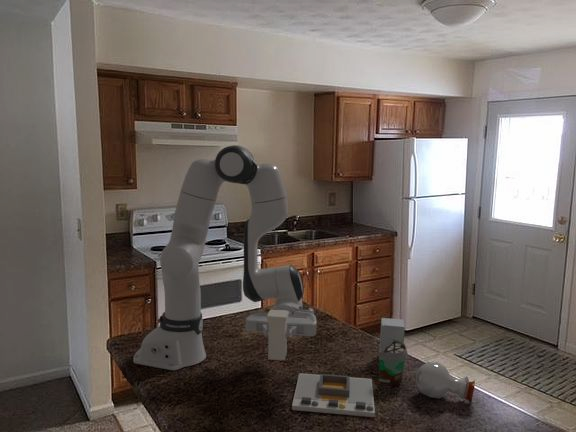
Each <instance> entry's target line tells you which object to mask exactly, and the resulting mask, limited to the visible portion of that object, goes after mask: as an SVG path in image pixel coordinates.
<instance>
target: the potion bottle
mask: <svg viewBox="0 0 576 432" xmlns="http://www.w3.org/2000/svg"><path fill="white" fill-rule="evenodd" d="M415 381H416V383H415V385H416V386H417V388H418V389H419V391H420V392H421V394H423V395H424V396H426V397H428V398H429V399H442V398H443V397H444V396H445V395H446V394H450V395H454V396H457V398H458V399H459V400H460V402H461V403H462V402H464V401H467V402H468V403H469V404H471V403H472V400H473V397H474V390H475V384H476V381H475V380H473V381H470V380H469V377H468V375H467V376H464V377H462V378H457V377H454V376H452V375H451V373H450V372H449V370H448V369H447V367H446V366H445V365H443V364H441V363H439V362H438V361H435V362H434V361H433V362H432V361H431V362H430V361H429V362H428V361H427V362H426V363H424V364H423V365H421V366H419V368H418V370H417V372H416V374H415Z"/></svg>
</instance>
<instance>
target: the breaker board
mask: <svg viewBox="0 0 576 432" xmlns="http://www.w3.org/2000/svg"><path fill="white" fill-rule="evenodd" d="M295 387H296V388H295V391H294V396H293V400H292V403H291V410H292V411H301V412H313V413H323V414H324V413H325V414H335V415H348V416H356V417H368V418H369V417H370V418H375V417H376V411H375V409H376V408H375V400H374V390H373V379H372V378H364V377H350V376H349V375H340V374H326V373H320V374H315V373H313V374H312V373H301V372H299V373H298V377H297V382H296V385H295Z"/></svg>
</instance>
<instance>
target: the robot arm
mask: <svg viewBox="0 0 576 432" xmlns="http://www.w3.org/2000/svg"><path fill="white" fill-rule="evenodd" d="M225 182H227V183H232V184H239V185H245V186H246V188H247V189H248V192H249V197H250V204H251V214H250V217H249V218H248V219H247V220H246V221H245V222H244V223H245V224H244V228H243V278H242V292H243V294H244V296H245V297H246V299H248V300H250V301H251V302H253V303H258V302H263V301H266V300H272V299H276V300H275V302H274V305H273V307H272V308H271V310H285V311H289V316H288V319H287V330H286V338H287V339H292V337H294V336H306V337H314V336H316V335H317V317H316V315H315V311H314V309H313V308H311V307H307V306H303V296H304V292H305V291H304V282H303V277H302V274H301V272H300V271H299V270H298V269H297V268H296V267H295V266H294V265H292V264H288V265H280V266H274V267H268V268H259V267H258V266H259V265H258V244H259V241H260V239H261V238H262V237H263V236H265V235H266V234H268V233H270V232H271V231H273V230H275V229H277V228H278V227H280V226H281V225H282V224H283V223H284V222H285V221H286V219H287V217H288V214H289V204H288V203H289V201H288V196H287V192H286V187H285V184H284V180H283V177H282V174H281V172H280V169H279V168H278V166H276V165H274V164H272V163H257V162H256V161H255V160H254V156H253V154H252V153H251V152H250V151H249V149H247V148H246V147H243V146H241V145H237V144H233V145H229V146H225V147H223V148H222V149H221V150H220V151H218V152H217V154H216V156H215V159H214V160H211V159H206V158H205V159H204V158H200V159H196V160H194V161H193V162H191V164H190V165H189V168H188V169H187V173H186V175H185V176H184V179H183V183H182V185H181V188H180V193H179V195H178V199H177V203H176V207H175V211H174V215H173V224H172V228H171V229H172V230H171V234H170V238H169V242H168V243H167V244H166V246H164V248H163V249H162V251H161V254H160V260H159V261H160V262H159V263H160V269H161V276H162V283H163V287H164V288H163V289H164V290H163V291H164V311H163V312H162V314H161V315H160V316H159V318H158V319H157V324H159V325H158V326H157V327H156V328H154V329H153V330H152V331H150V332H149V333H148V334H147V335H146V336H145V337H144V338H143V340H142V343H141V347H140V349H138V350H137V351H136V352H135V354H134V355H133V358H132V361H133V364H136V365H141V366H142V365H143V366H146V367H147V366H148V367H152V368H158V369H163V370H164V369H165V370H170V371H177V370H180V369H182V368H185V367H191V366H194V365H196V364H199V363H202V361H204V360H205V359H206V358H207V353H206V349H205V346H204V341H203V335H202V332H203V327H204V325H203V324H204V323H203V314H202V309H201V308H202V306H201V305H202V298H201V297H202V295H201V294H202V293H201V291H202V289H201V283H200V272H199V271H200V270H199V264H200V260H201V259H202V256H203V253H204V249H205V245H206V241H207V236H208V232H209V228H210V223H211V220H212V218H213V217H212V216H213V213H214V210H215V205H216V202H217V198H218V195H219V194H218V193H219V191H220V189H221V186H222V185H223V183H225ZM268 313H269V312H260V311H257V312H256V311H255V312H252V313H250V314H249V315H248V316H247V317H246V318H245V325H244V326H245V328H244V329H245V331H246V332H248V333H259V334H260V333H263V336H264V337H265V338H266V337H268V338H269V321H268V320H267V315H268Z"/></svg>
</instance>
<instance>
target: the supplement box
mask: <svg viewBox="0 0 576 432" xmlns="http://www.w3.org/2000/svg"><path fill="white" fill-rule="evenodd" d="M380 320H381V321H380V337H379V353H378V355H379V354H380V352H384V350H385V349H386V348H387V347H388V346H389V345H391V344H392V343H393V339H395V340H398V341H400V342H402V343H404V344H405V328H406V325H405V321H404V319H403V318H402V319H399V318H388V317H386V318H385V317H381V319H380Z"/></svg>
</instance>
